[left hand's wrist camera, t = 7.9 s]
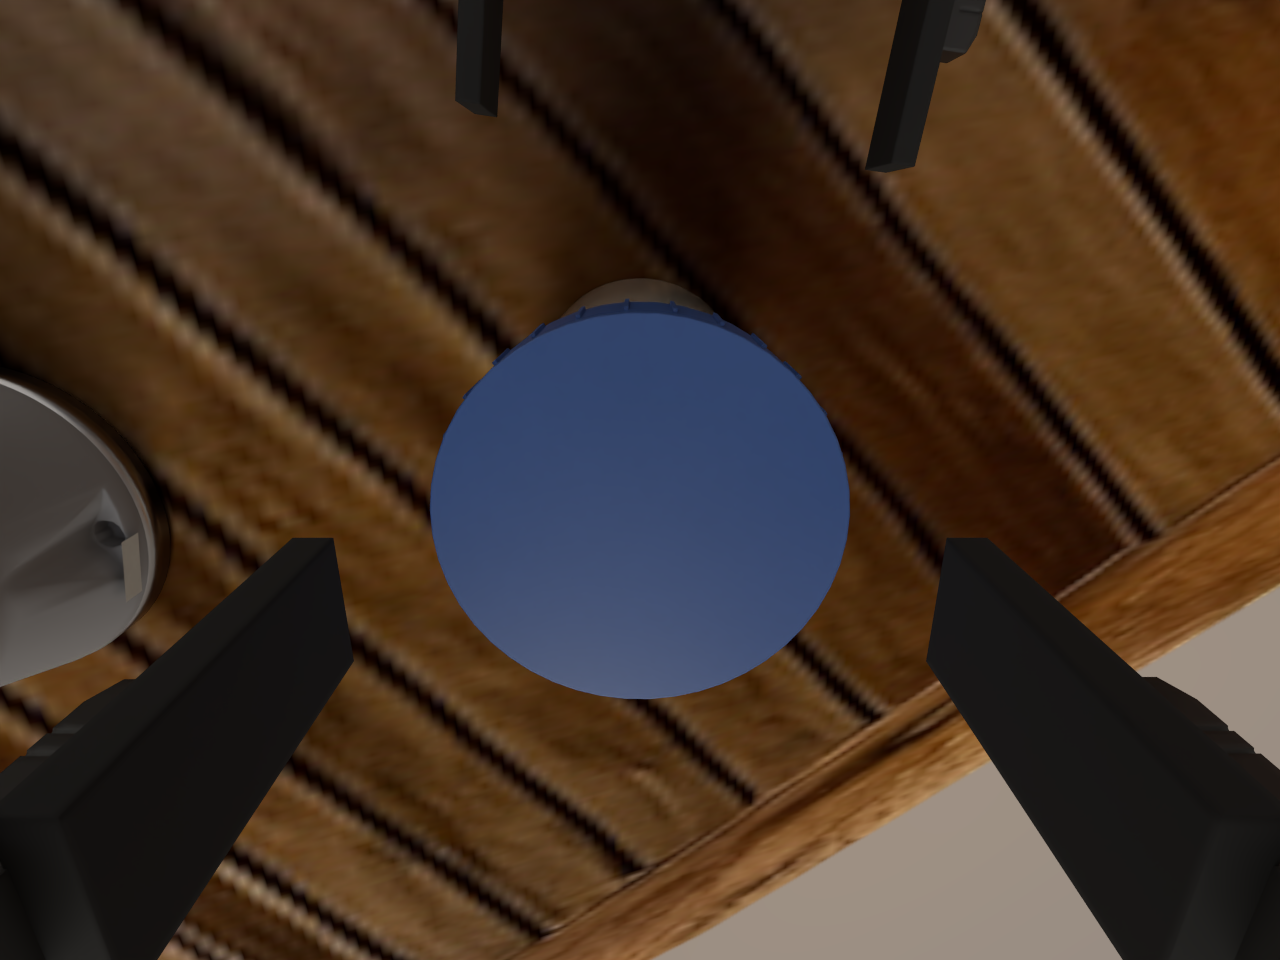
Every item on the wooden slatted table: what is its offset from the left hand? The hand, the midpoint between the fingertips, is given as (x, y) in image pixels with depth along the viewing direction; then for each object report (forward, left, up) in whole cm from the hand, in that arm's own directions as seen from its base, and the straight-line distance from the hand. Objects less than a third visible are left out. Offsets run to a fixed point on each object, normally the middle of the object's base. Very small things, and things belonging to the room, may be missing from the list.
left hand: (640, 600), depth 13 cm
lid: (0, 0, -4) cm, 4 cm away
